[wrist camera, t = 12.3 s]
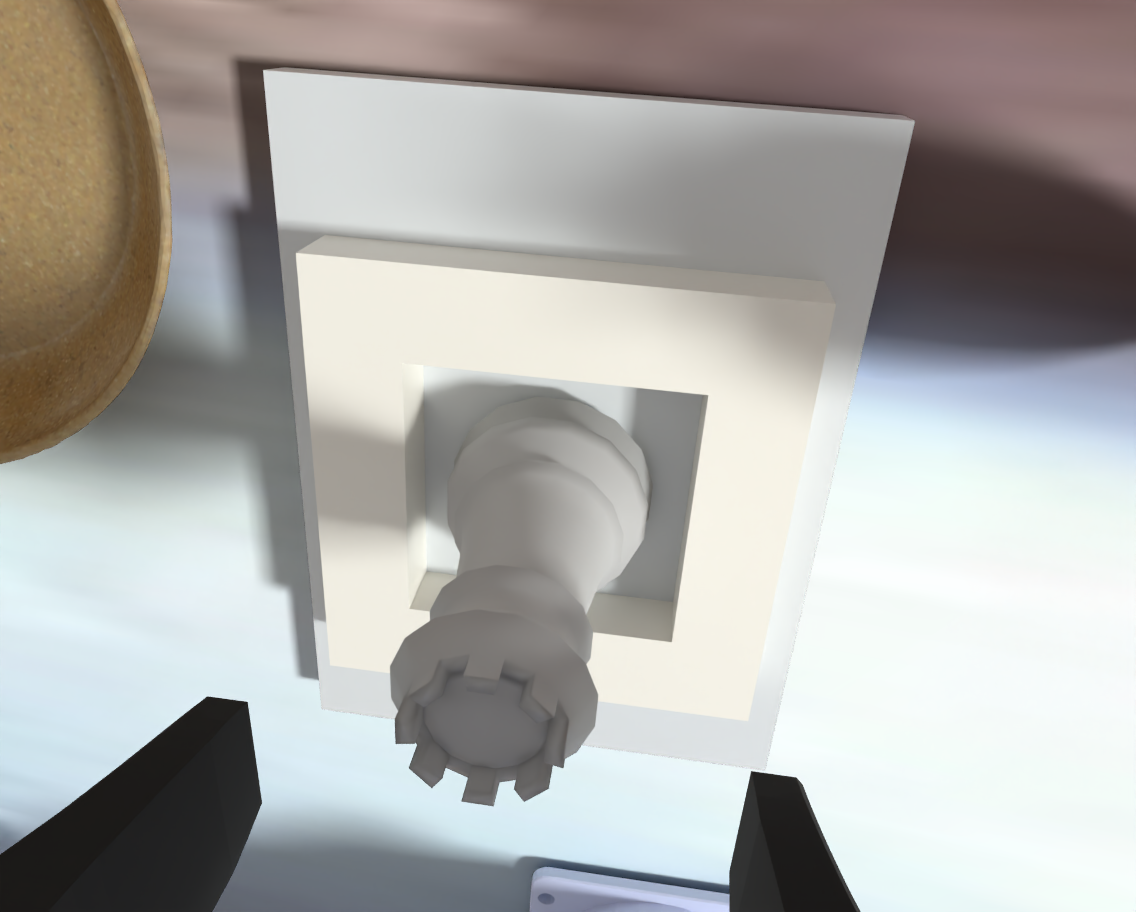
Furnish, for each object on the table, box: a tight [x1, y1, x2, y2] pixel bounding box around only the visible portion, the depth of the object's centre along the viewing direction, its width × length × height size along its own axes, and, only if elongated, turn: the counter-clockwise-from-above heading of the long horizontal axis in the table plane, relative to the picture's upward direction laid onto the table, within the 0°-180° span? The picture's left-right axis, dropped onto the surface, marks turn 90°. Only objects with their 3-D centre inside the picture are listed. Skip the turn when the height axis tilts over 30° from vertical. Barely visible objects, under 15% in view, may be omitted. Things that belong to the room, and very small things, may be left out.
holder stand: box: [263, 67, 915, 770], centre depth 19 cm, size 16×12×2 cm
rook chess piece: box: [390, 397, 653, 806], centre depth 16 cm, size 4×4×8 cm
